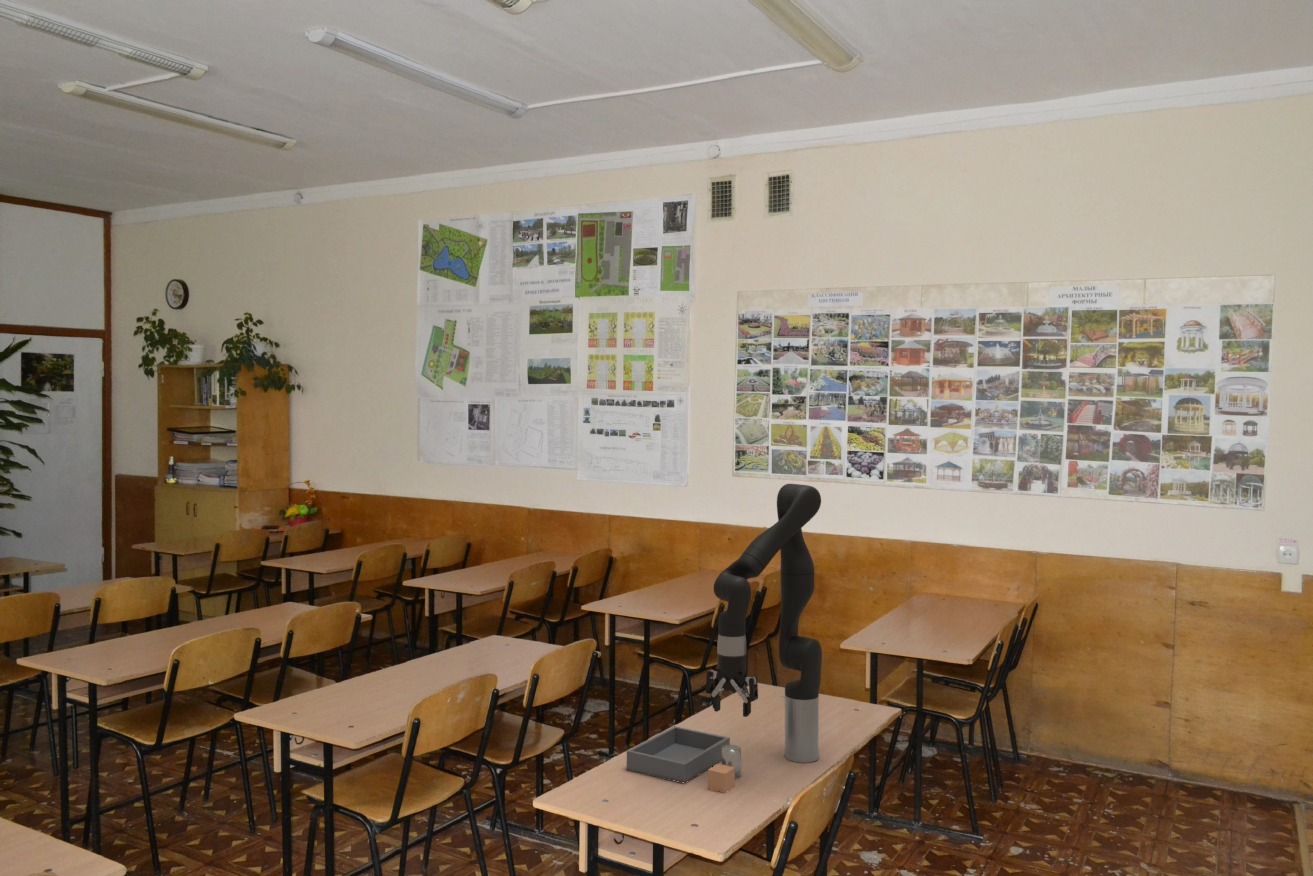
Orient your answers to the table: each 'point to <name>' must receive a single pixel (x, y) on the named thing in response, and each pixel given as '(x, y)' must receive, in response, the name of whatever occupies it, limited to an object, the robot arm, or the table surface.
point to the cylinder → (732, 758)
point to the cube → (721, 778)
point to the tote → (677, 754)
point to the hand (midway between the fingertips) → (731, 713)
